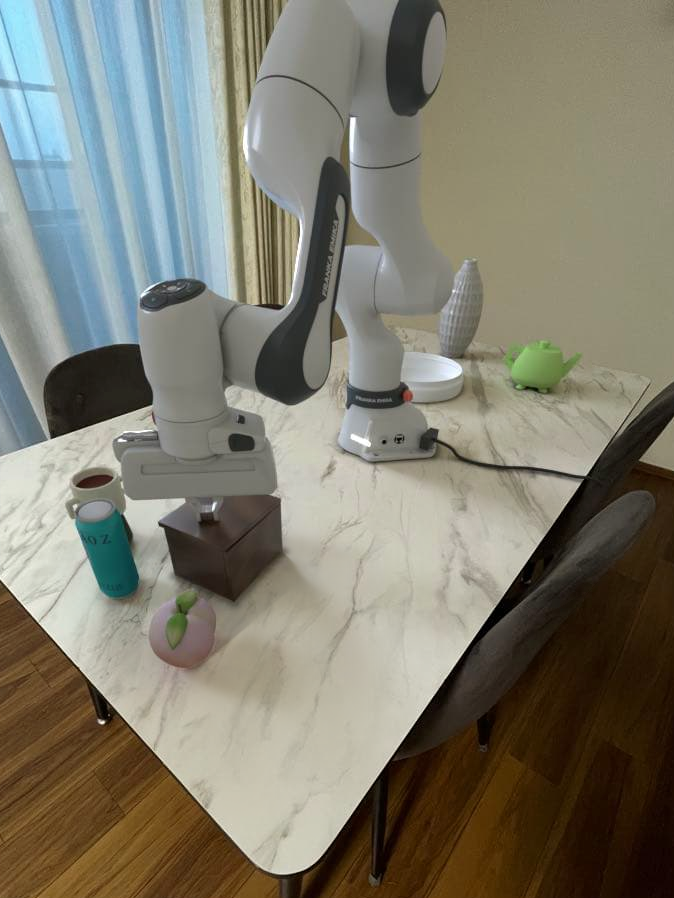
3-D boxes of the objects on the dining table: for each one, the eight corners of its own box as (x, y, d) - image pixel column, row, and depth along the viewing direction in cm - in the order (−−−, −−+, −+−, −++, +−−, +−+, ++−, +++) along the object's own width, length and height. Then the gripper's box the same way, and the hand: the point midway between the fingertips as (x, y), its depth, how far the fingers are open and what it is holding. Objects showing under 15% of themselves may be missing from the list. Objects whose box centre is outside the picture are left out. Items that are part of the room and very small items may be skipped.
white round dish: (447, 368, 149) (450, 351, 146) (473, 402, 128) (478, 383, 125) (362, 368, 148) (364, 351, 145) (375, 403, 127) (377, 383, 124)
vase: (434, 359, 155) (451, 262, 138) (432, 348, 165) (448, 255, 147) (473, 362, 154) (495, 264, 136) (469, 350, 164) (490, 257, 146)
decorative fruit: (162, 631, 65) (147, 579, 59) (222, 627, 66) (213, 575, 60) (151, 689, 58) (133, 638, 52) (218, 684, 59) (208, 633, 52)
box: (233, 602, 70) (227, 552, 63) (174, 575, 74) (163, 525, 68) (282, 551, 79) (281, 502, 73) (227, 529, 83) (221, 482, 77)
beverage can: (107, 577, 74) (78, 497, 64) (144, 575, 74) (121, 496, 64) (97, 604, 69) (65, 523, 60) (137, 602, 70) (111, 521, 60)
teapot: (569, 383, 140) (585, 339, 132) (569, 399, 131) (586, 353, 123) (499, 373, 146) (510, 330, 138) (494, 388, 136) (506, 343, 128)
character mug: (129, 520, 85) (110, 456, 77) (154, 535, 82) (137, 470, 74) (74, 550, 78) (47, 484, 70) (98, 568, 75) (73, 501, 67)
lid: (223, 552, 63) (222, 548, 62) (158, 526, 67) (157, 521, 67) (280, 502, 73) (280, 498, 72) (221, 482, 77) (220, 478, 77)
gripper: (102, 444, 55) (129, 536, 64) (276, 438, 57) (279, 528, 65) (114, 421, 60) (138, 509, 69) (274, 416, 62) (277, 502, 70)
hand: (208, 518), depth 67 cm, fingers closed
